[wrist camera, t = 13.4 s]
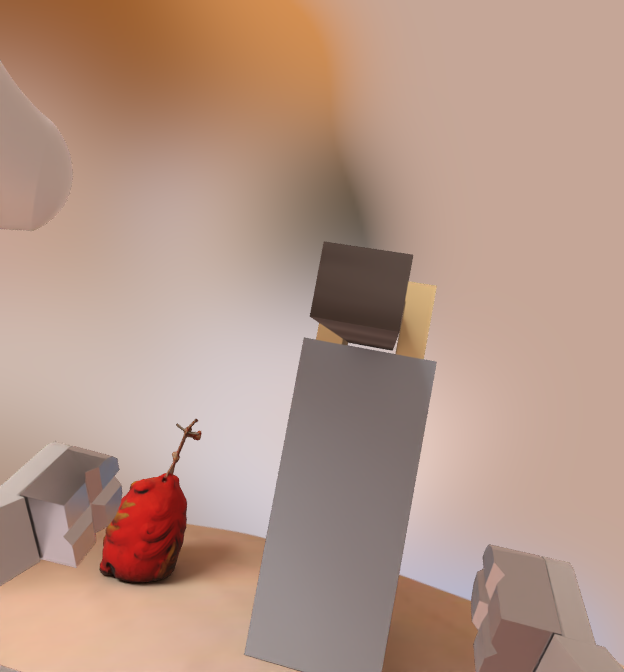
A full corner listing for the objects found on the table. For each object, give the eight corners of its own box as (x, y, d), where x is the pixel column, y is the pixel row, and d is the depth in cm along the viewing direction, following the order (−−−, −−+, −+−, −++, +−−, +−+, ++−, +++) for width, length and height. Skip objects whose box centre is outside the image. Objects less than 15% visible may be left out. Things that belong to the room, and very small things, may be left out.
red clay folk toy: (136, 547, 51) (164, 403, 51) (194, 568, 48) (223, 418, 49) (79, 573, 44) (113, 406, 44) (144, 600, 41) (178, 424, 42)
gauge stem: (399, 332, 19) (413, 255, 19) (309, 316, 19) (323, 241, 19) (392, 350, 38) (399, 312, 38) (348, 342, 39) (355, 305, 39)
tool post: (377, 693, 35) (449, 288, 36) (244, 654, 37) (317, 266, 38) (379, 611, 47) (434, 307, 48) (278, 584, 48) (333, 291, 49)
